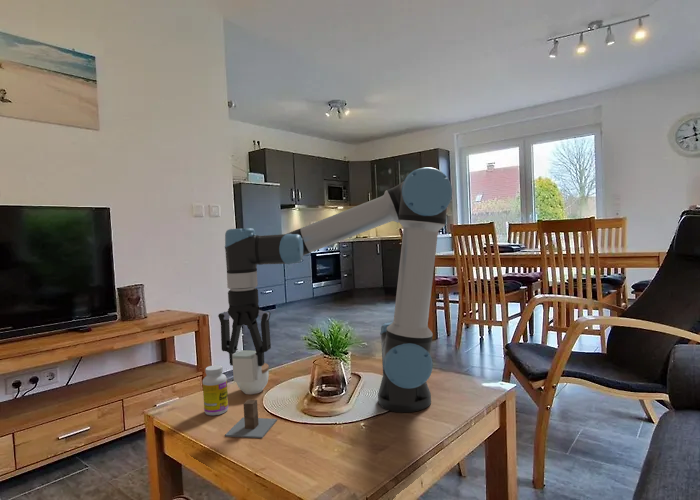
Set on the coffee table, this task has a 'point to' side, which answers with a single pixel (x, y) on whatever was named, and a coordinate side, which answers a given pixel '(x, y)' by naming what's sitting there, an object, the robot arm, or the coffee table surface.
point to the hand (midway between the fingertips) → (247, 377)
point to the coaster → (258, 432)
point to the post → (251, 414)
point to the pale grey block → (244, 366)
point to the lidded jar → (255, 382)
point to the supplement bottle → (215, 391)
